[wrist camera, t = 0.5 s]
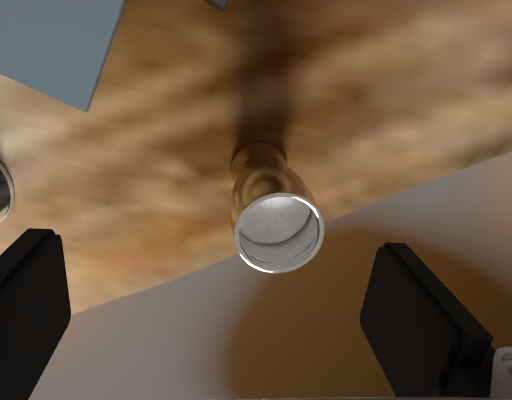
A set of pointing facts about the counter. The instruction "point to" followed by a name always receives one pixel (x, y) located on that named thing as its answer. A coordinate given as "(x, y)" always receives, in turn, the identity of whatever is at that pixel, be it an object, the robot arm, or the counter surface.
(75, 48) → the mat
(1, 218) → the coffee can
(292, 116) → the counter surface
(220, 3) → the body
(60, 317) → the robot arm
